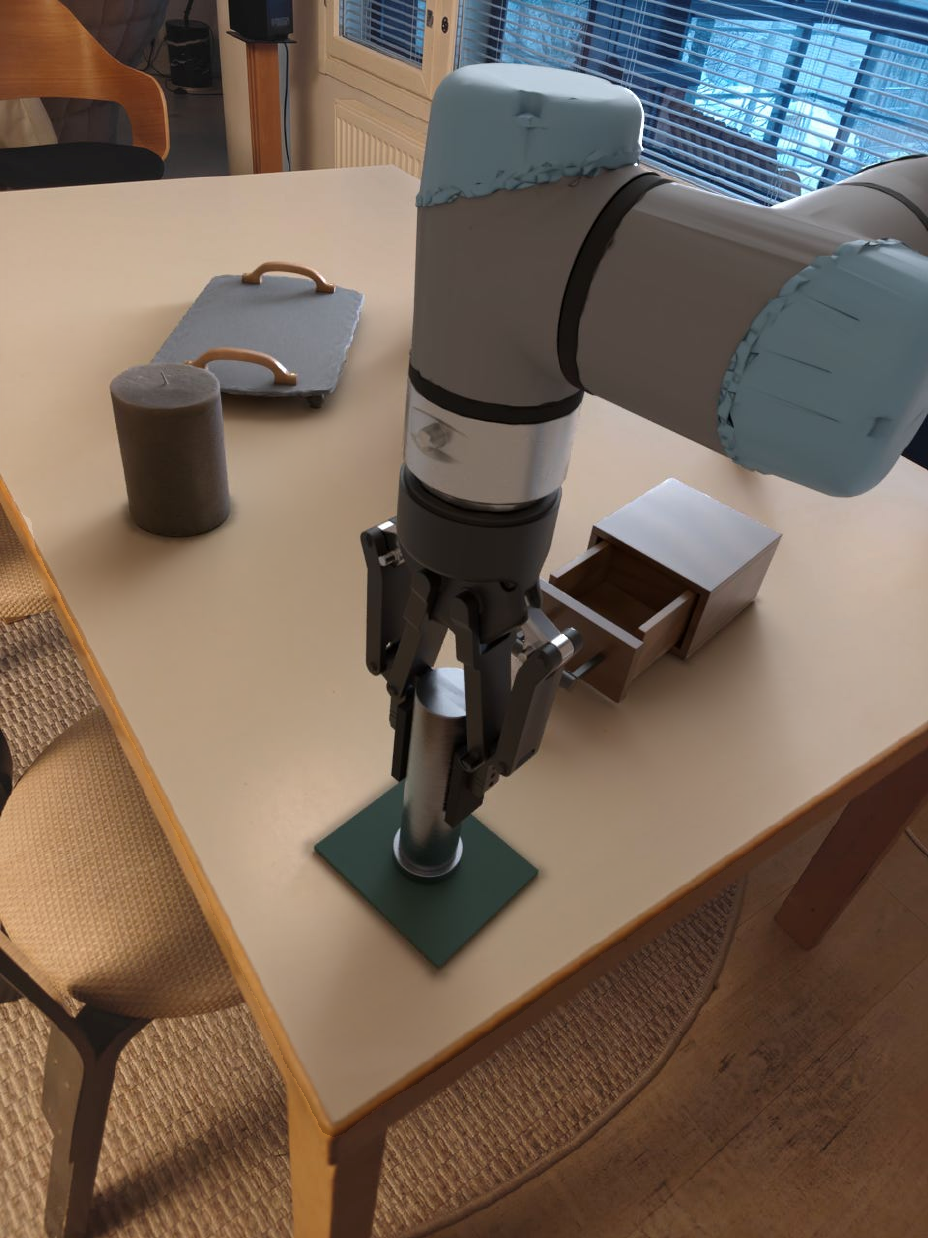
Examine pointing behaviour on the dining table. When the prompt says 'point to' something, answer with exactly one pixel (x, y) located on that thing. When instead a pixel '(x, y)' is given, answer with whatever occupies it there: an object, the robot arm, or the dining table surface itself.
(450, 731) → the silver cylinder
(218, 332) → the serving tray
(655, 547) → the cabinet
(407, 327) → the dining table surface
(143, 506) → the pillar candle
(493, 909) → the mat
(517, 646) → the drawer
